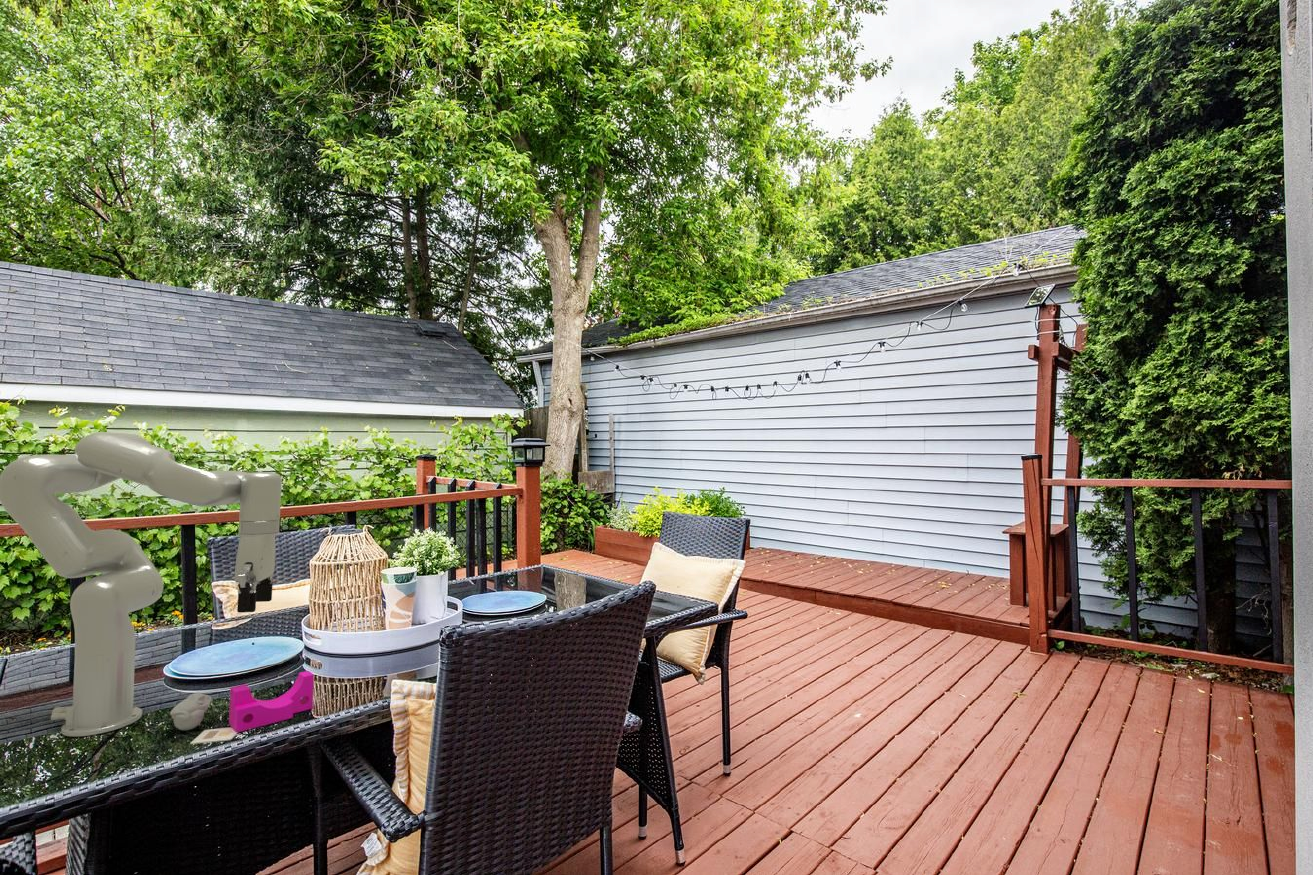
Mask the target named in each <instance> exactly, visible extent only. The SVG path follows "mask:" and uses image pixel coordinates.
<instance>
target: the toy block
mask: <svg viewBox="0 0 1313 875" xmlns="http://www.w3.org/2000/svg"><path fill="white" fill-rule="evenodd" d="M314 678H315V674H314V673H313V672H311V671H310V670H305V671H301V672H298V674H297V678H296V680H295V682H294V683H293V685H292V686H291V687H290V689H288V691H286V692H284V693H283V694H282V695H280V696H279V697H276V698H273V699H272V698H271V699H268V700H262V699H257V698H256V697H253V695H252V693H251V689H250V687H249V686H248V685H247V684H242V685H241V684H240V685H237V686H231V687H230V690H229V691H230V692H229V710H228V711H229V712H228V714H229V715H228V724H229V726H230V727H232V728H233V730H234V731H235V732H236V733H237V732H238V733H241V732H245V731H248V730H251V729H255V728H256V729H257V728H259V727H263V726H268V725H271V724H274V723H278V722H283V721H285V720H289V719H293V718H294V714H296V713H301V712H303V711H308V710H312V709H313V708H314V707H313V706H314ZM238 733H237V734H238Z"/></svg>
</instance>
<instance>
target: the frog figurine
mask: <svg viewBox="0 0 1313 875" xmlns="http://www.w3.org/2000/svg"><path fill="white" fill-rule="evenodd" d="M211 701H212V696H211V695H208V694H204V693H202V692H194V693H192V694H189V695H188V696H187V697H186V698H184V699H183V700H181V701H180V702H179V703H177V705H175V706H174V707H173V708H172V709H171V710H170V713H169V714H170V716H171V719H173V724H174V726H175V728H176V729H178V730H180V731H189V730H193V729H195V728H196V727H198V726H199V725H200V724H201V723H202V721H203V719H204V716H205V712H206V711H207V712H208V710H209V707H210V705H211Z"/></svg>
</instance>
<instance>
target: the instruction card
mask: <svg viewBox="0 0 1313 875" xmlns="http://www.w3.org/2000/svg"><path fill="white" fill-rule="evenodd" d="M237 734H239V732H237V733H236V732H235V731H234V730H233V728H232V727H231V726H230V727H222V728H221V727H220V728H214V729H213V728H211V729H210V728H209V729H204V730H203V731H202V732H201V733H200V734H199V735H198V736H196V738H194V739H192V741H191V742H190V743H189V745H195V744H203V743H204V744H205V743H215V742H216V743H217V742H224V741H226V742H227V741H231V740H232V739H233V738H234V737H235V736H237Z"/></svg>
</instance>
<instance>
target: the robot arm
mask: <svg viewBox="0 0 1313 875" xmlns="http://www.w3.org/2000/svg"><path fill="white" fill-rule="evenodd" d="M119 479H123V480H125V481H130V482H133V483H135V484H140V485H142V486H146V487H148V488H149V490H151V491H153V492H154V493H156V494H158V495H160V496H162V497H165V498H168V499H171V500H174V501H178V502H182V503H185V504H188V505H192V506H195V507H196V506H197V507H205V508H207V507H208V508H209V507H217V506H227V505H234V504H235V505H236V504H239V519H238V520H239V521H238V537H240V538H239V541H238V545H237V546H238V547H237V552H236V558H235V568H234V577H233V578H234V581H235V583H237V584H238V585H237V587H238V589H237V613H241V614H242V613H254V612H255V611H256V609H257V608H256V606H257V602H259V603H260V602H261V603H262V602H270V601H272V600H273V582H274V577H273V575H274V572H275V568H276V536H278V535H280V521H281V520H280V518H281V506H282V505H281V502H282V487H283V485H282V484H283V479H282V476H281V474H279V473H275V472H264V471H263V472H261V471H258V472H254V471H253V472H246V471H239V470H205V469H200V468H197V467H193V466H190V465H186V464H183V463H180V462H177V461H176V457H175V455H174V453H173V452H171V451H170V449H169V450H168V449H167V448H162V447H158V446H156V445H152V444H151V443H150V442H149V440H147V439H146V438H145V437H143V436H140V435H138V434H133V433H125V432H123V433H122V432H107V431H105V432H104V431H103V432H102V431H100V432H95V433H90V434H88V435H86V436H84V437H82V438H81V439H79V441H78V442H77V444H76V445H75V447H74V454H34V455H28V456H23V457H20V458H17V459H15V460H13V461H11V462H9V463H8V464H7V465H6V466H5V467H4V469H3V470H2V471H1V473H0V504H1V506H2V507H3V509H4V511H6V513H7V514H8V515H9V516H10V517H11V518H12V519H13V520H14V521H15V522H16V523H17V525H19V527H20V528H21V529H22V530H23V531H24V533H25V534H26V535H27V537H28V538H29V540H30V541H31V543H32V544H33V545H34V546H35V548H36V549H37V550H38V551H39V553H40V554H41V556H42V557H43V558H44V560H45V561H46V563H47V564H48V565H49V566H50V568H51V569H52V570H53V572H55V573H56V574H57V575H58V576H59V577H62V578H65V579H78V578H84V577H87V576H94V575H97V576H94V577H91V578H89V579H87V580H85V581H83V582H82V583H81V584H80V585H78V586H77V587H76V588H75V589H74V591H73V593H72V595H71V597H70V599H69V600H70V602H69V606H70V613H71V618H72V622H73V628H74V669H73V672H74V673H73V692H72V693H73V694H72V705H71V706H60V707H59V706H58V707H57V706H56V707H54V708H53V709H52V711H51V716H50V720H51V721H59V720H64V721H65V723H64V724H62V725H61V728H60V729H61V731H60V732H61V734H62V735H64V736H66V737H72V738H73V737H75V738H76V737H78V738H79V737H86V736H88V737H89V736H96V735H99V734H105V733H109V732H112V731H115V730H118V729H122V728H125V727H127V726H129V725H132V724H133V723H135V722H137V721H138V720H140V719H141V718H142V716H143V709H142V708H140V707H137V706H134V694H135V692H134V690H135V665H136V664H135V663H136V662H135V661H136V660H135V659H136V631H135V627H134V624H133V623H132V620H131V618H130V616H129V615H130V614H129V613H133V612H135V611H139V610H142V609H144V608H147V607H149V606H151V605H153V604H155V603H156V602H157V601H158V600H159V599H160V597H161V596H162V594H163V591H164V581H163V578H162V575H161V574H160V572H159V571H158V568H156V567H155V565H154V563H152V561H151V560H150V558H149V557H148V556H147V554H146V553H145V552H144V550H143V549H142V548H141V546H140V544H138V543H137V541H136V540H135V539H134V538H133V537H132V536H131V535H129V534H128V533H126V532H124V531H122V530H119V529H111V528H107V529H105V528H104V529H97V530H93V529H91V528H90V527H89V526H88V525H87V524H86V523H85V521H84V520H83V519H82V518H81V516H80V515H79V513H78V512H77V511H76V510H75V509H74V508H73V507H72V506H70V505H69V504H67V502H64V501H63V500H61V499H60V498H58V497H57V496H56V495H57V494H73V493H83V492H88V491H89V492H90V491H91V490H95V489H98V488H101V487H103V486H106V485H108V484H109V483H110V484H111V483H112V482H115V481H117V480H119ZM98 574H100V575H98Z"/></svg>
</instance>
